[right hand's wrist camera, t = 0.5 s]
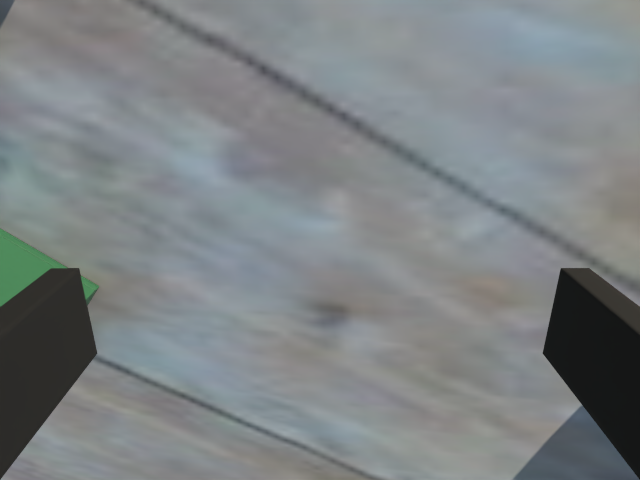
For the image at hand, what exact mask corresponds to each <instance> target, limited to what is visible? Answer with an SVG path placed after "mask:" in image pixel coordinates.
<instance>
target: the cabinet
mask: <svg viewBox="0 0 640 480" xmlns="http://www.w3.org/2000/svg"><path fill="white" fill-rule="evenodd" d="M51 268H67V267H65V266H64V265H62V264H60V263H58V262H57V261H55V260H53V259H52V258H50V257H48V256H46V255H45V254H43V253H41V252H40V251H38V250H36V249H34V248H33V247H31V246H29V245H28V244H26V243H24V242H23V241H21V240H19V239H17V238H16V237H14V236H12V235H11V234H9V233H7V232H5V231H4V230H2V229H0V307H1V306H2V305H3V304H5V303H6V302H7V301H9V300H10V299H11V298H13V297H14V296H15V295H17V294H18V293H19V292H20V291H22V290H23V289H24V288H26V287H27V286H28V285H30V284H31V283H32V282H34V281H35V280H36V279H38V278H39V277H40V276H41V275H43V274H44V273H45V272H47V271H48V270H49V269H51ZM81 280H82V284H83V289H84V294H85V299H86V303H87V305H88V304H89V302H90V301H91V299H92V297H93V296H94V294H95V293H96V291H97V289H98V288H99V286H98V285H96V284H94V283H93V282H91V281H89V280H87V279H86V278H84V277H82V276H81Z"/></svg>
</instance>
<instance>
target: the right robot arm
mask: <svg viewBox="0 0 640 480" xmlns="http://www.w3.org/2000/svg"><path fill="white" fill-rule="evenodd" d="M96 354H97V350H96V345H95V341H94V336H93V331H92V327H91V322H90V317H89V313H88V308H87V303H86V299H85V294H84V289H83V284H82V280H81V275H80V270H79V268H51V269H49V270H48V271H47V272H45V273H44V274H43V275H41V276H40V277H39V278H38V279H36V280H35V281H34V282H32V283H31V284H30V285H28V286H27V287H26V288H24V289H23V290H22V291H20V292H19V293H18V294H17V295H15V296H14V297H13V298H11V299H10V300H9V301H7V302H6V303H5V304H3V305H2V306H1V307H0V479H1V478H2V477H3V475H4V474H5V473H6V471H7V470H8V469H9V467H10V466H11V465H12V464H13V462H14V461H15V460H16V458H17V457H18V456H19V454H20V453H21V452H22V451H23V449H24V448H25V447H26V445H27V444H28V443H29V441H30V440H31V439H32V438H33V436H34V435H35V434H36V432H37V431H38V430H39V428H40V427H41V426H42V425H43V423H44V422H45V421H46V419H47V418H48V417H49V415H50V414H51V413H52V412H53V410H54V409H55V408H56V406H57V405H58V404H59V402H60V401H61V400H62V398H63V397H64V396H65V395H66V393H67V392H68V391H69V389H70V388H71V387H72V385H73V384H74V383H75V382H76V380H77V379H78V378H79V376H80V375H81V374H82V372H83V371H84V370H85V369H86V367H87V366H88V365H89V363H90V362H91V361H92V359H93V358H94V357H95V356H96ZM543 354H544V356H545V357H546V358H547V359H548V361H549V362H550V363H551V365H552V366H553V367H554V369H555V370H556V371H557V372H558V374H559V375H560V376H561V378H562V379H563V380H564V382H565V383H566V384H567V385H568V387H569V388H570V389H571V391H572V392H573V393H574V395H575V396H576V397H577V398H578V400H579V401H580V402H581V404H582V405H583V406H584V408H585V409H586V410H587V412H588V413H589V414H590V415H591V417H592V418H593V419H594V421H595V422H596V423H597V425H598V426H599V427H600V428H601V430H602V431H603V432H604V434H605V435H606V436H607V438H608V439H609V440H610V441H611V443H612V444H613V445H614V447H615V448H616V449H617V451H618V452H619V453H620V454H621V456H622V457H623V458H624V460H625V461H626V462H627V464H628V465H629V466H630V467H631V469H632V470H633V471H634V473H635V474H636V475H637V477H638V478H639V479H640V307H639V306H638V305H637V304H635V303H634V302H633V301H631V300H630V299H629V298H627V297H626V296H625V295H623V294H622V293H621V292H620V291H618V290H617V289H616V288H614V287H613V286H612V285H610V284H609V283H608V282H606V281H605V280H604V279H602V278H601V277H600V276H599V275H597V274H596V273H595V272H593V271H592V270H591V269H589V268H561V270H560V275H559V280H558V284H557V289H556V294H555V298H554V303H553V308H552V313H551V317H550V322H549V327H548V331H547V336H546V341H545V345H544V350H543Z"/></svg>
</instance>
